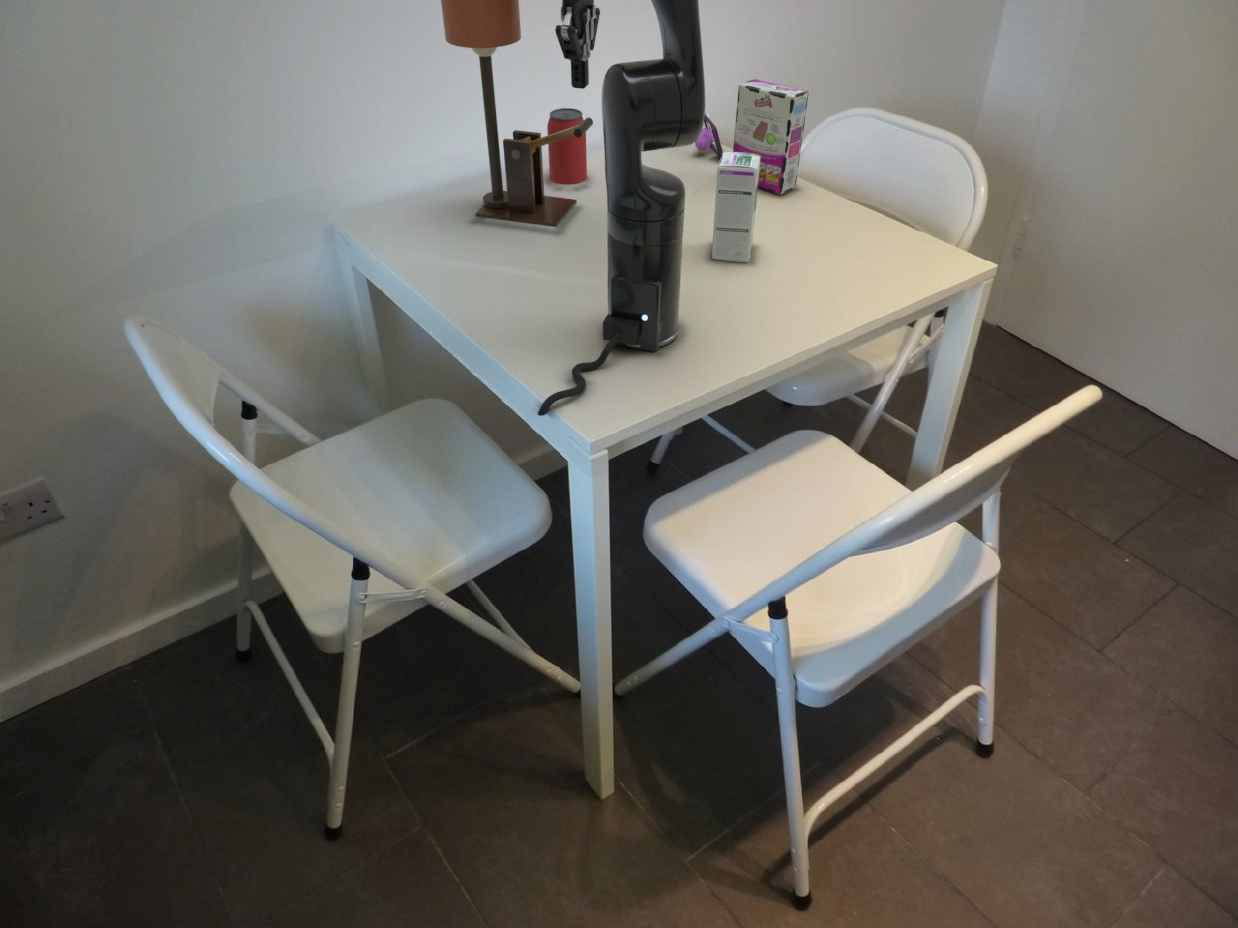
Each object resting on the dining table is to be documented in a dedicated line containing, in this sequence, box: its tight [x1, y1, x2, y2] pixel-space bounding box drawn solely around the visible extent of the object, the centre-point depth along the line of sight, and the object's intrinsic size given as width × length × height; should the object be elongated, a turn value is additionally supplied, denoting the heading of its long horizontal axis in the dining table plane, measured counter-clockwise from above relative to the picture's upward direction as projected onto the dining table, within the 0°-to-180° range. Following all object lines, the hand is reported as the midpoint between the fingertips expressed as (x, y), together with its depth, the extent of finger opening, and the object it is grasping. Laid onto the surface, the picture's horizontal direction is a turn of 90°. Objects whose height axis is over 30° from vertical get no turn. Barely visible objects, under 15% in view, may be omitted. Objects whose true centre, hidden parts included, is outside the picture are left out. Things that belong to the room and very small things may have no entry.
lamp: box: [440, 0, 522, 209], centre depth 129 cm, size 11×11×32 cm
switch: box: [519, 116, 594, 154], centre depth 130 cm, size 13×6×2 cm, turn 71°
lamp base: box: [475, 129, 578, 228], centre depth 135 cm, size 14×10×13 cm
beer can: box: [546, 107, 588, 185], centre depth 146 cm, size 7×7×12 cm
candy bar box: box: [732, 78, 810, 196], centre depth 144 cm, size 11×5×16 cm, turn 48°
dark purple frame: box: [694, 113, 724, 159], centre depth 159 cm, size 7×5×9 cm
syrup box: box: [711, 151, 760, 263], centre depth 124 cm, size 6×6×14 cm
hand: (580, 87), depth 123 cm, fingers closed
